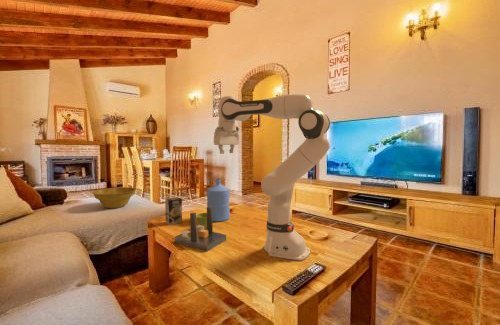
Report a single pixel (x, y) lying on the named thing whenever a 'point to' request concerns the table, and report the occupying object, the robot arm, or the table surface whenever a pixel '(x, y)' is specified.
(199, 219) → the plant pot
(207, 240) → the dark grey base plate
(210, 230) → the cord post right
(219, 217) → the water jug
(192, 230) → the cord post left
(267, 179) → the robot arm
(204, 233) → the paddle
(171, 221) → the coffee box
